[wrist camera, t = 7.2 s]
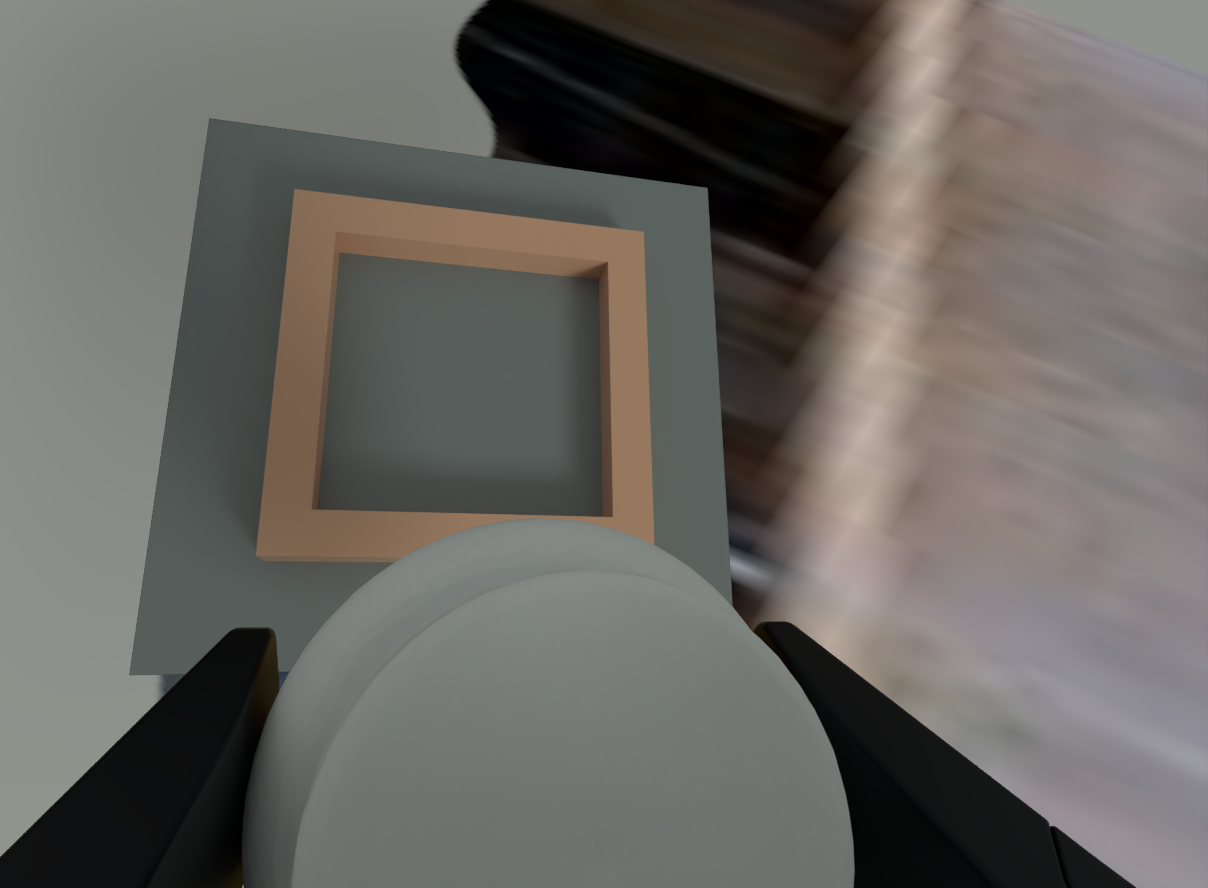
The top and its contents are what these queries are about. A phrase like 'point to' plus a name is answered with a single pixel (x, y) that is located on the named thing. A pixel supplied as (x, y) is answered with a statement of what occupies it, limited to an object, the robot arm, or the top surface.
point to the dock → (420, 376)
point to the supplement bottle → (542, 731)
